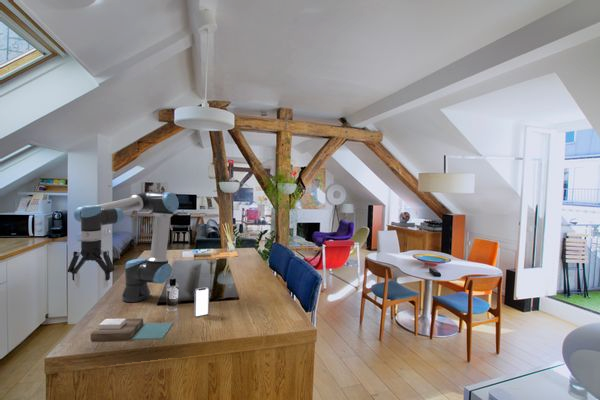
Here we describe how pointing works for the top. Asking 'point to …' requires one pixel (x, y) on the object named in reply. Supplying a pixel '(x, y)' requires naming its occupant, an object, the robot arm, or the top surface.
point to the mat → (152, 331)
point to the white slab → (112, 323)
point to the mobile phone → (201, 302)
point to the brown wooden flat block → (118, 331)
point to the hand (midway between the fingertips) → (91, 287)
